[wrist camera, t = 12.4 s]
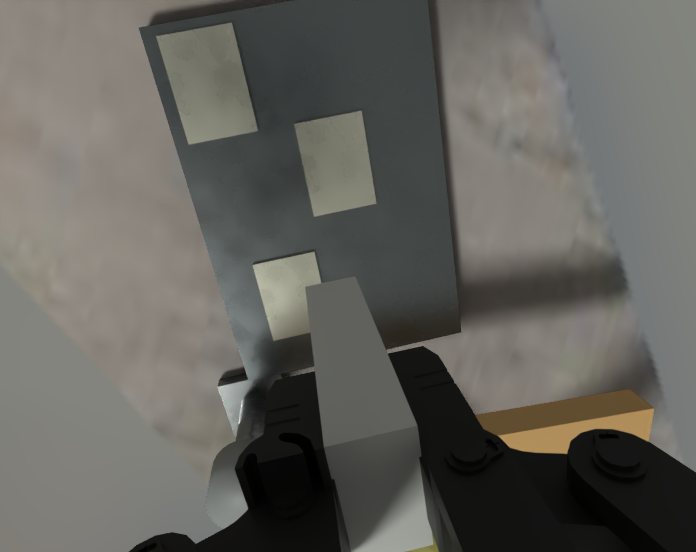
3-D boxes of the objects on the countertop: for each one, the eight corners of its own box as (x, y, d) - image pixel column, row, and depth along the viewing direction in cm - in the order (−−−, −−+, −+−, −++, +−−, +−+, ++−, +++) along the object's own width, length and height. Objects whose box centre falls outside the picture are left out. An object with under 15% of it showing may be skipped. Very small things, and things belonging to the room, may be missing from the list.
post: (219, 379, 29) (203, 444, 23) (279, 365, 29) (279, 426, 23) (235, 428, 30) (224, 501, 25) (293, 415, 31) (295, 483, 25)
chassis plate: (144, 31, 22) (137, 26, 21) (419, -18, 23) (426, -25, 22) (249, 372, 29) (248, 383, 28) (455, 325, 30) (462, 333, 29)
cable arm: (220, 503, 24) (214, 539, 22) (205, 445, 23) (197, 478, 21) (620, 432, 26) (648, 458, 24) (629, 374, 25) (659, 398, 23)
